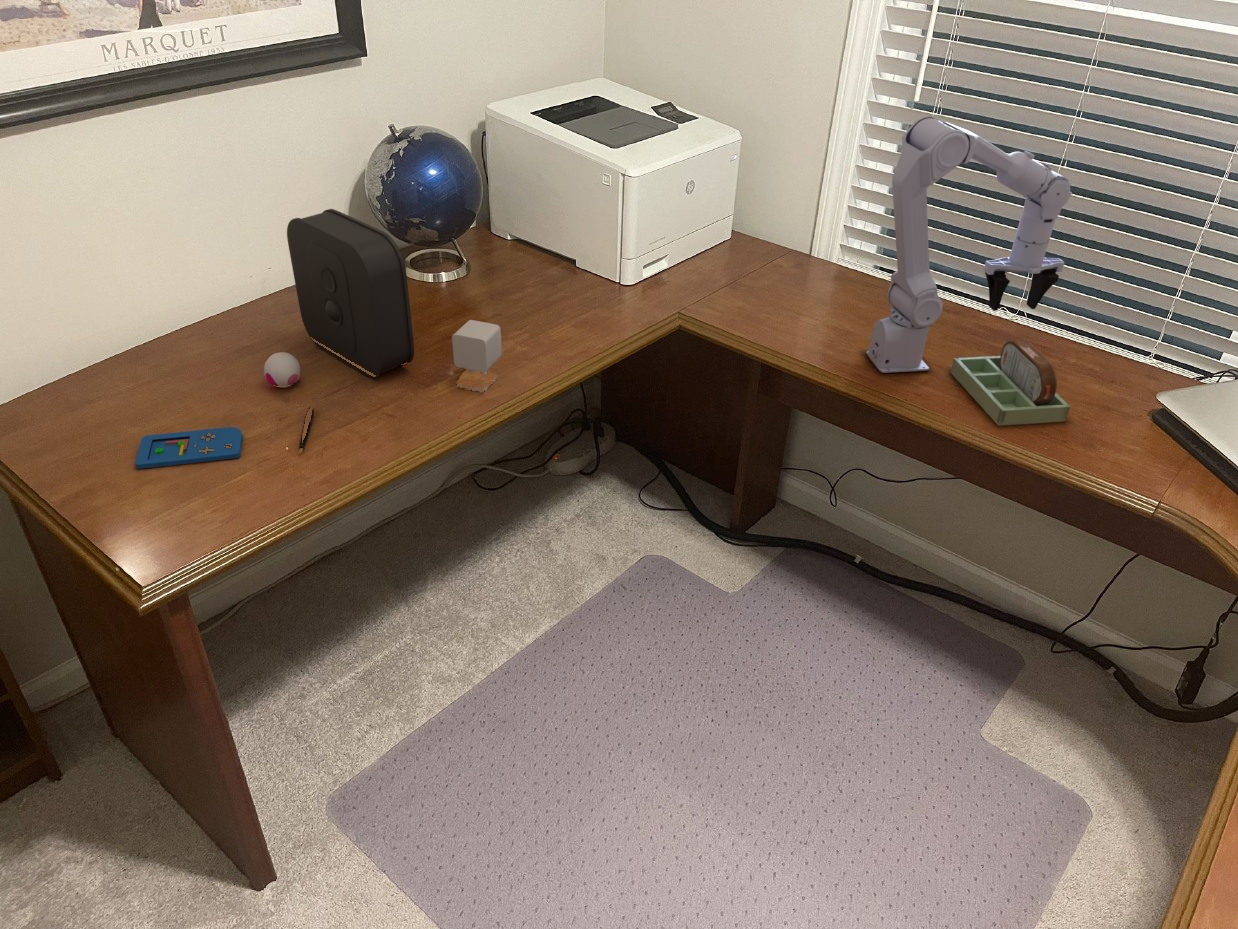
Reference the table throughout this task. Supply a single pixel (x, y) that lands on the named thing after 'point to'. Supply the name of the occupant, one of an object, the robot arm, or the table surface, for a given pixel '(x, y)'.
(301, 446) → the fountain pen
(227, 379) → the table surface
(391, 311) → the speaker
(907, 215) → the robot arm
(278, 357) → the stress ball
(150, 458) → the handheld gaming device
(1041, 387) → the tin
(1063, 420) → the organizer
